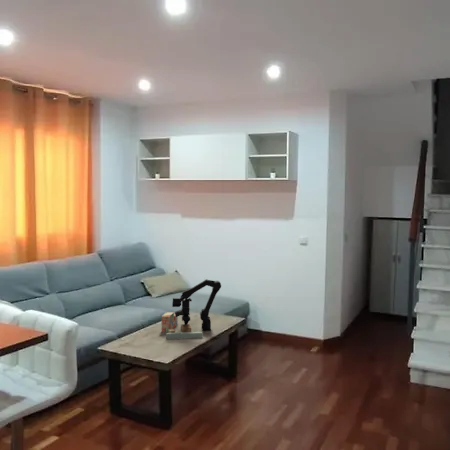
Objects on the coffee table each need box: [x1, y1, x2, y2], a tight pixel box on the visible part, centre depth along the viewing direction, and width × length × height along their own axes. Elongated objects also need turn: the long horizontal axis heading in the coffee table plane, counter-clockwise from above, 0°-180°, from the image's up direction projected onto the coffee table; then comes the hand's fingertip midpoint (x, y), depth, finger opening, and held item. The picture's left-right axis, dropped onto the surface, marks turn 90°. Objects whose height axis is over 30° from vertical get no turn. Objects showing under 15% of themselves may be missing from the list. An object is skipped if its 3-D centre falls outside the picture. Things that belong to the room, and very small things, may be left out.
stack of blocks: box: [161, 311, 179, 333], centre depth 382 cm, size 21×6×12 cm, turn 168°
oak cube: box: [167, 328, 176, 333], centre depth 363 cm, size 4×4×4 cm
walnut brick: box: [180, 323, 192, 332], centre depth 371 cm, size 7×10×5 cm
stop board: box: [165, 331, 203, 340], centre depth 358 cm, size 26×3×4 cm, turn 97°
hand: (185, 326), depth 377 cm, fingers closed
